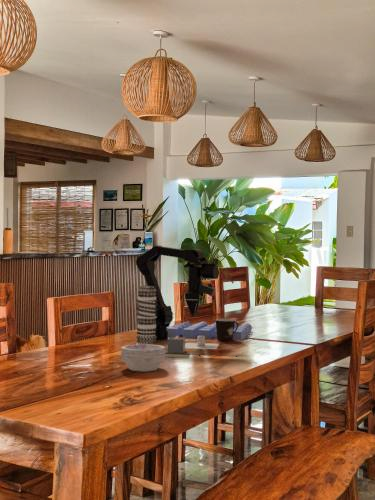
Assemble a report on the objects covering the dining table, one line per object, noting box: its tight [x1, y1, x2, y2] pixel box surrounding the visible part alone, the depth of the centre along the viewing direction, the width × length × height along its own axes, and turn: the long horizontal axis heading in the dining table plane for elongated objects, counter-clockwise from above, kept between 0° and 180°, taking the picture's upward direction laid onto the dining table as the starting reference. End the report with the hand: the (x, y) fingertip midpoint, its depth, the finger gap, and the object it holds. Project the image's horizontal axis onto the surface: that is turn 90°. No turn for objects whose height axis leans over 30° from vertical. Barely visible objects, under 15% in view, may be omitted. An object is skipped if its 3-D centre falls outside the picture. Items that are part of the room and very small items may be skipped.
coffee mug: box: [215, 318, 239, 342], centre depth 287 cm, size 12×9×10 cm
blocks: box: [167, 320, 253, 341], centre depth 312 cm, size 35×34×5 cm
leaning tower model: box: [135, 285, 158, 345], centre depth 278 cm, size 9×9×25 cm
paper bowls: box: [120, 343, 166, 373], centre depth 225 cm, size 15×15×8 cm
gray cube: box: [167, 336, 186, 354], centre depth 255 cm, size 6×6×6 cm
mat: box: [165, 352, 192, 359], centre depth 255 cm, size 11×11×1 cm
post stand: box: [185, 336, 220, 350], centre depth 269 cm, size 14×14×5 cm
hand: (194, 314), depth 279 cm, fingers open, 9 cm apart
